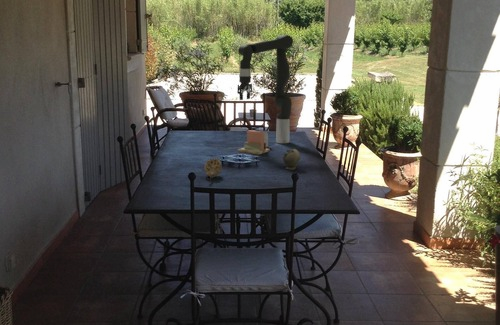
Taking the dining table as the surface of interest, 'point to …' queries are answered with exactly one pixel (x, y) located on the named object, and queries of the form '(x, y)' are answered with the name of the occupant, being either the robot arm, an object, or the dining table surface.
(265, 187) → the dining table surface
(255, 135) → the tall salmon pink block
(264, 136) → the ink box
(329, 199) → the dining table surface
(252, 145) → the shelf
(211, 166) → the pine cone
